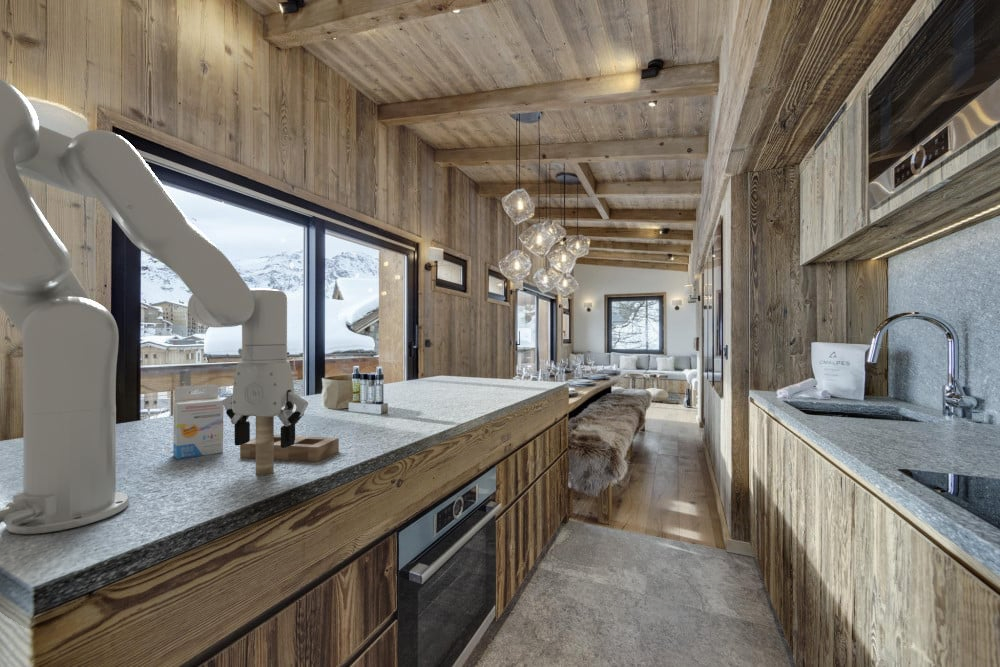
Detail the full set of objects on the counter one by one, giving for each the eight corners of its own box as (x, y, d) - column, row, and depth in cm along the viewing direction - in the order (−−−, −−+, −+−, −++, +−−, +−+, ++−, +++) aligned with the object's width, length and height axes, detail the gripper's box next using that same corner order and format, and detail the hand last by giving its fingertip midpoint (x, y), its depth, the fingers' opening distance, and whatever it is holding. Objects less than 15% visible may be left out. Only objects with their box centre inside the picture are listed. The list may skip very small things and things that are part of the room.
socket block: (318, 461, 89) (318, 447, 89) (240, 457, 92) (240, 443, 92) (338, 451, 97) (338, 437, 97) (266, 447, 100) (266, 434, 100)
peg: (266, 475, 81) (266, 411, 81) (251, 474, 81) (252, 410, 81) (277, 470, 84) (277, 408, 84) (263, 469, 84) (263, 407, 84)
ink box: (176, 460, 90) (176, 389, 90) (172, 455, 94) (172, 387, 94) (224, 452, 96) (224, 385, 96) (218, 448, 100) (218, 383, 100)
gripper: (208, 354, 80) (208, 448, 80) (294, 356, 77) (293, 452, 77) (239, 353, 87) (239, 438, 87) (318, 354, 85) (318, 442, 85)
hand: (264, 444), depth 82 cm, fingers open, 9 cm apart
